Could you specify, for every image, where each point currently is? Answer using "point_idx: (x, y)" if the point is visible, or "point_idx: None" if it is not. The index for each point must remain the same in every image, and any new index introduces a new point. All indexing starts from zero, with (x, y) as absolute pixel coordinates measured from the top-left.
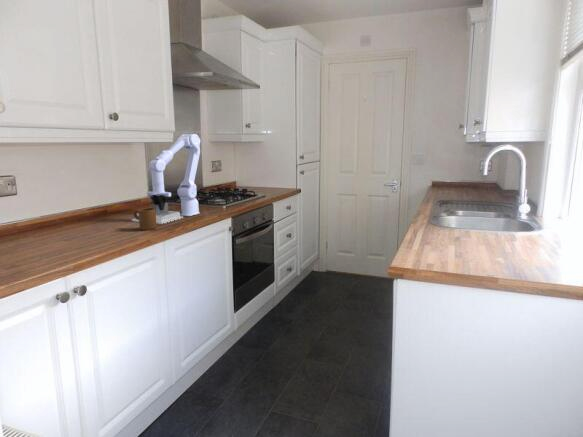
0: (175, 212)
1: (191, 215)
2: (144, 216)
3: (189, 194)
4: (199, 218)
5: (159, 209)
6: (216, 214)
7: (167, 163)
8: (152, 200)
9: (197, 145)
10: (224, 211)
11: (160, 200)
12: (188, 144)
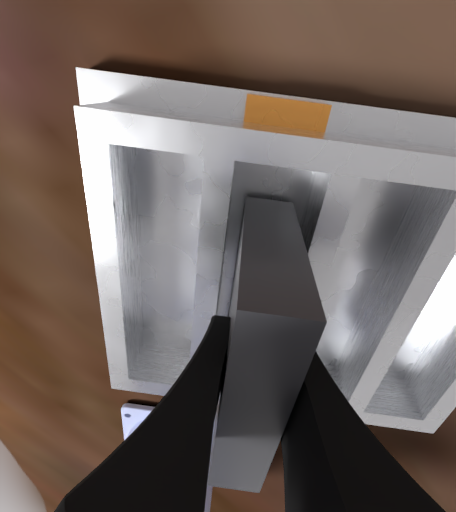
0: (147, 377)
1: (123, 415)
2: None
3: None
4: (4, 360)
5: (231, 314)
6: (24, 451)
7: None
8: (410, 478)
9: None
10: (55, 498)
11: (125, 451)
12: None
